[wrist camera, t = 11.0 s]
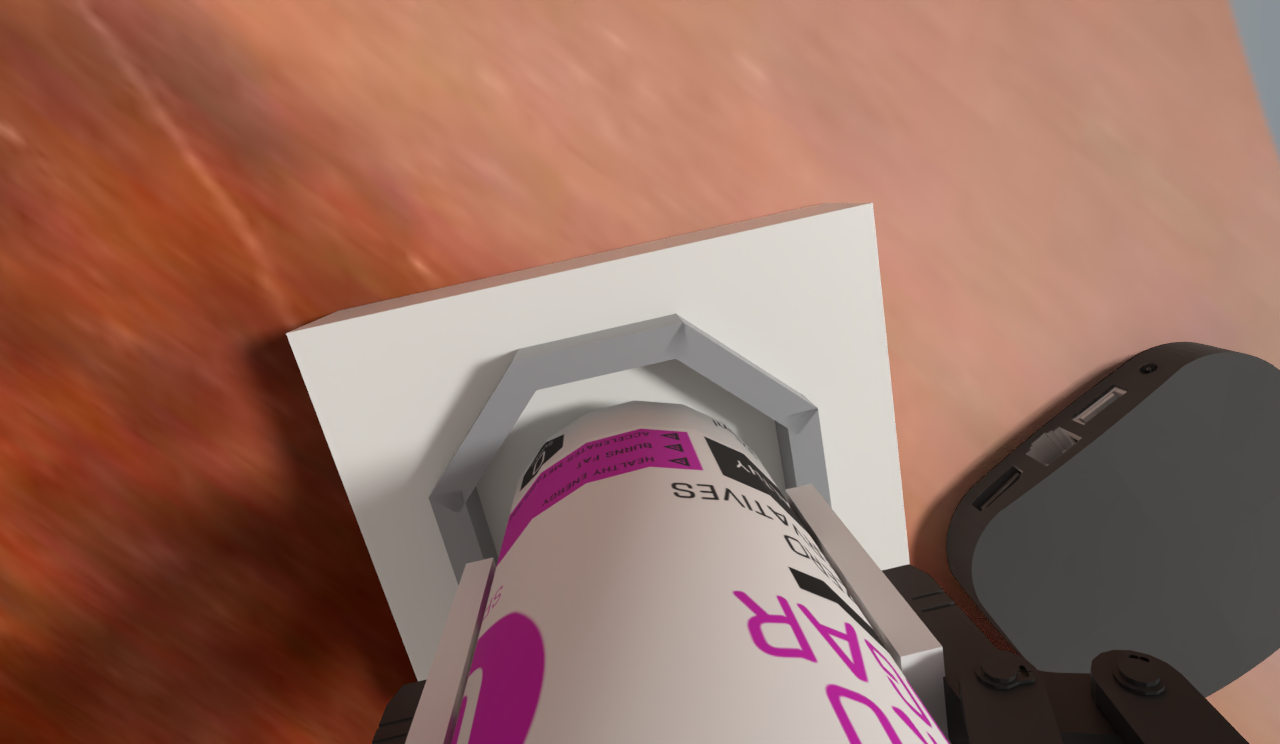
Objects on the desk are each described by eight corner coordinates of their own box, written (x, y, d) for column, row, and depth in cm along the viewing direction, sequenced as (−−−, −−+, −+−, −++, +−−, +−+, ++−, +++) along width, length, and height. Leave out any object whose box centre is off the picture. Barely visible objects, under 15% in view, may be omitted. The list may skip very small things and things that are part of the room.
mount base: (824, 203, 23) (896, 202, 17) (870, 575, 27) (939, 666, 22) (338, 310, 22) (259, 344, 17) (465, 671, 27) (434, 787, 21)
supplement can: (487, 599, 20) (235, 1585, 6) (548, 363, 18) (401, 951, 4) (720, 645, 21) (994, 1555, 7) (800, 428, 20) (1403, 1059, 5)
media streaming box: (1073, 716, 31) (1123, 770, 28) (906, 527, 27) (944, 566, 24) (1330, 528, 29) (1412, 564, 26) (1188, 300, 25) (1266, 312, 22)
